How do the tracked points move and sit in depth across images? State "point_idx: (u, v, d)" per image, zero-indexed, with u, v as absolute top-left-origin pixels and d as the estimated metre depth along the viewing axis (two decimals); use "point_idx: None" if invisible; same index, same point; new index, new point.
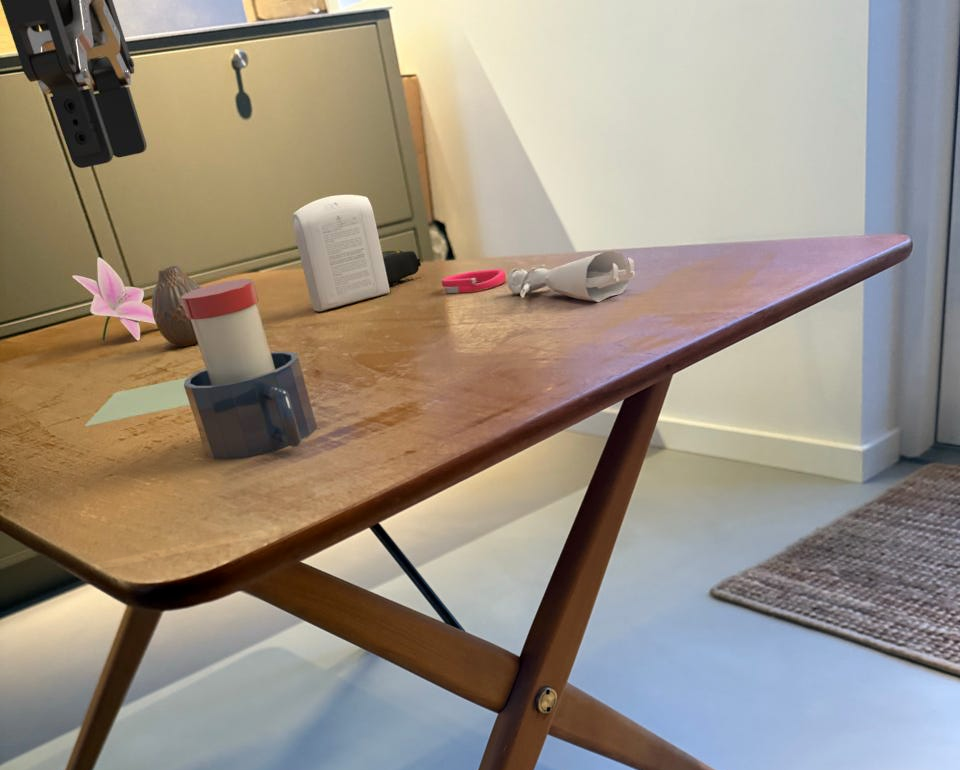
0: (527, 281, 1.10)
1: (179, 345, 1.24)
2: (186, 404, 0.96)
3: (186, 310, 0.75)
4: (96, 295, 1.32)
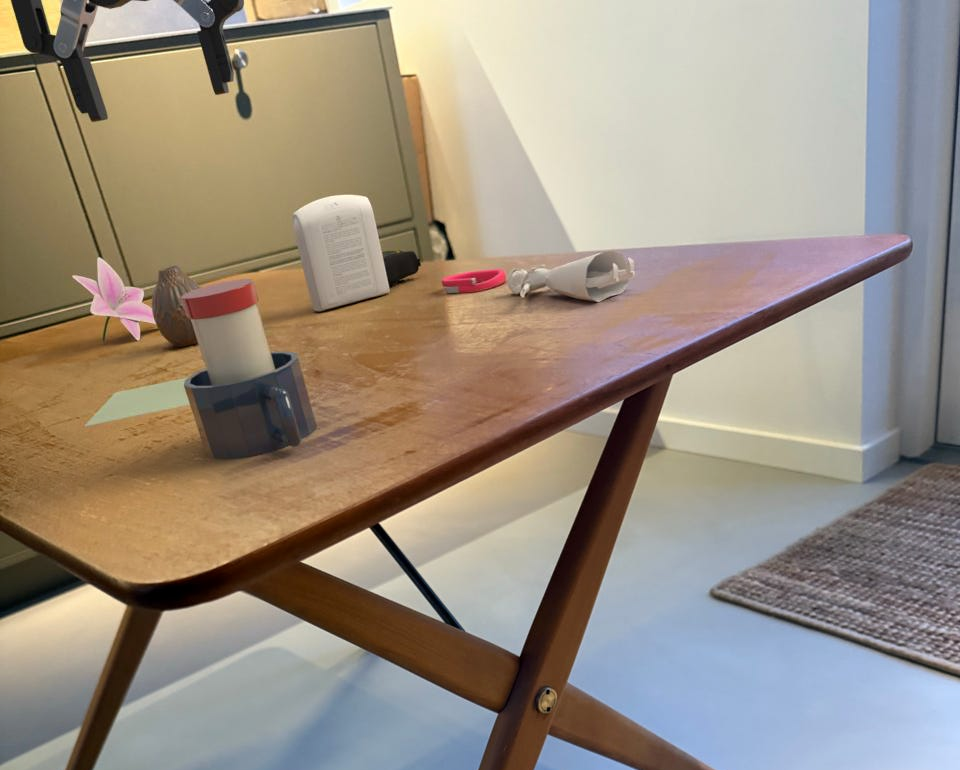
0: (527, 281, 1.10)
1: (179, 345, 1.24)
2: (186, 404, 0.96)
3: (186, 310, 0.75)
4: (96, 295, 1.32)
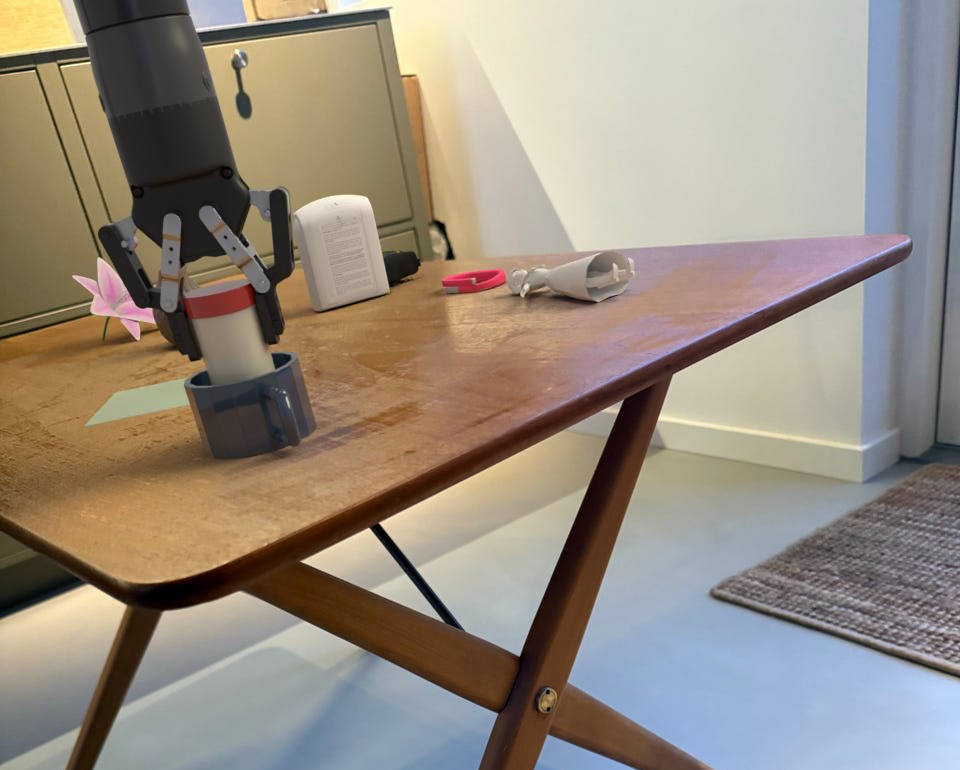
0: (527, 281, 1.10)
1: None
2: (186, 404, 0.96)
3: (186, 310, 0.75)
4: (96, 295, 1.32)
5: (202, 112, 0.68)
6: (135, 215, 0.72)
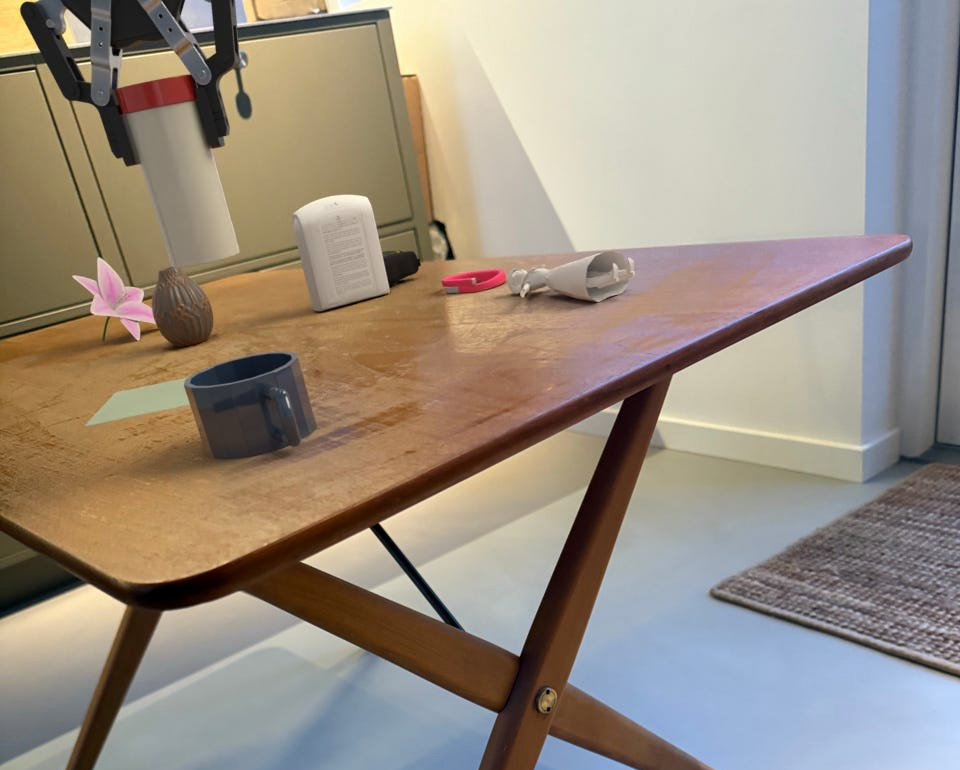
0: (527, 281, 1.10)
1: (179, 345, 1.24)
2: (186, 404, 0.96)
3: (120, 103, 0.68)
4: (96, 295, 1.32)
5: None
6: None
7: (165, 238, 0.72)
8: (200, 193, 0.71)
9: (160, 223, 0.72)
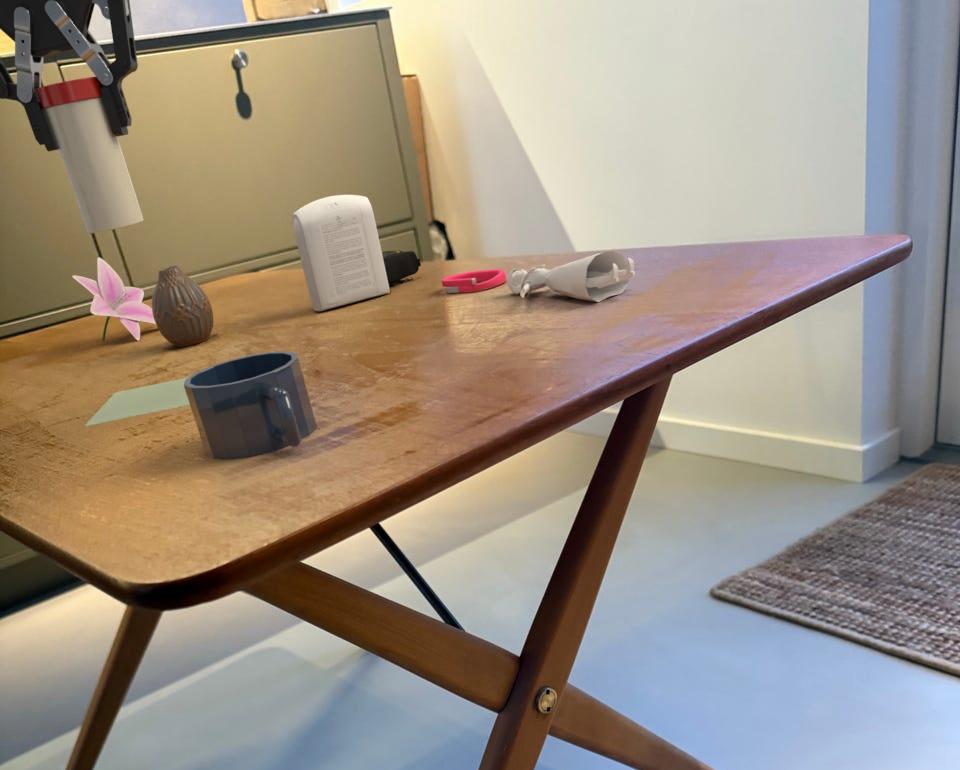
0: (527, 281, 1.10)
1: (179, 345, 1.24)
2: (186, 404, 0.96)
3: (40, 100, 0.86)
4: (96, 295, 1.32)
5: None
6: None
7: (81, 209, 0.90)
8: (107, 172, 0.88)
9: (76, 196, 0.89)
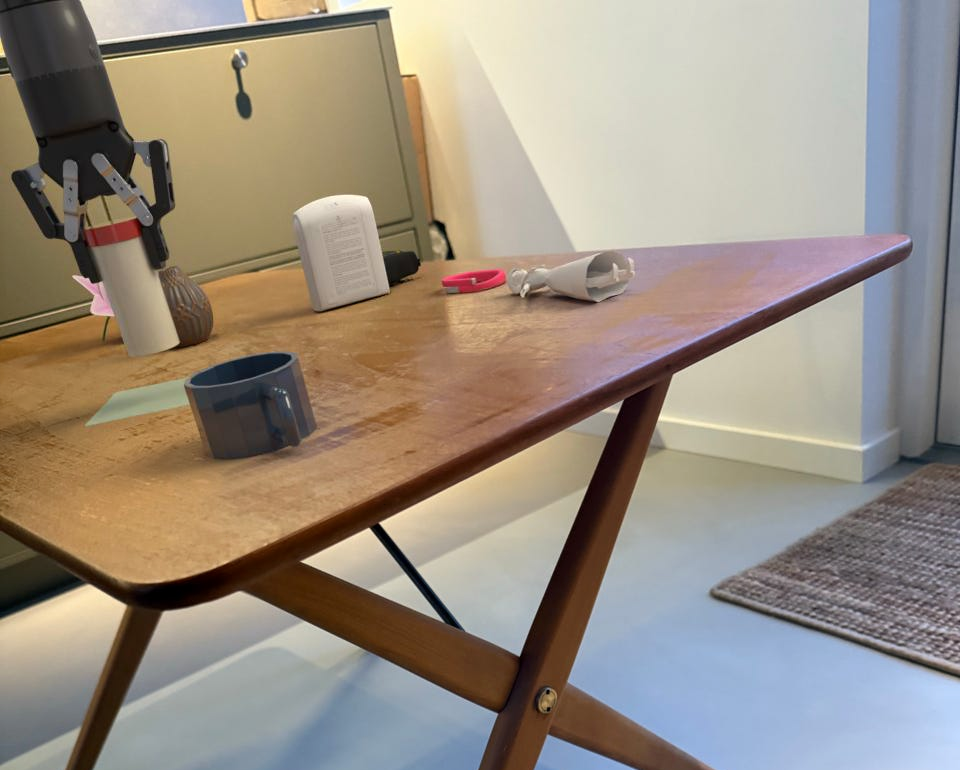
0: (527, 281, 1.10)
1: (179, 345, 1.24)
2: (186, 404, 0.96)
3: (86, 239, 0.92)
4: (96, 295, 1.32)
5: (90, 77, 0.86)
6: (41, 161, 0.89)
7: (122, 335, 0.97)
8: (147, 303, 0.95)
9: (118, 324, 0.96)
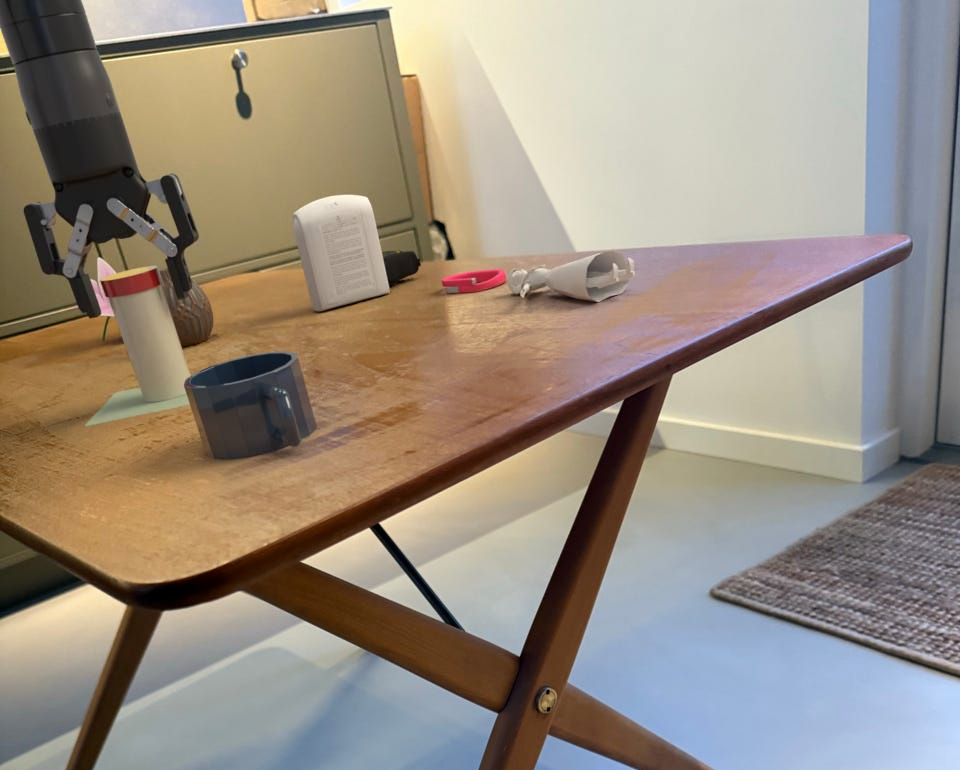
0: (527, 281, 1.10)
1: None
2: (186, 404, 0.96)
3: (104, 290, 0.95)
4: (96, 295, 1.32)
5: (106, 125, 0.87)
6: (57, 205, 0.91)
7: (138, 381, 0.99)
8: (163, 351, 0.97)
9: (134, 371, 0.98)
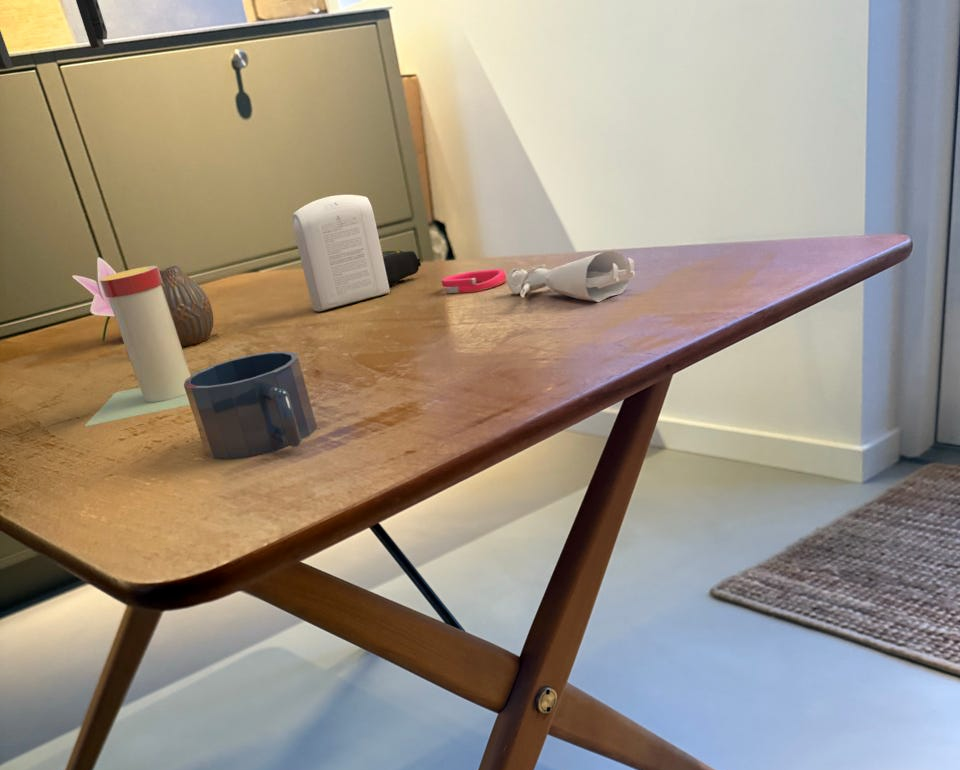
0: (527, 281, 1.10)
1: None
2: (186, 404, 0.96)
3: (104, 290, 0.95)
4: (96, 295, 1.32)
5: None
6: None
7: (138, 381, 0.99)
8: (163, 351, 0.97)
9: (134, 371, 0.98)
